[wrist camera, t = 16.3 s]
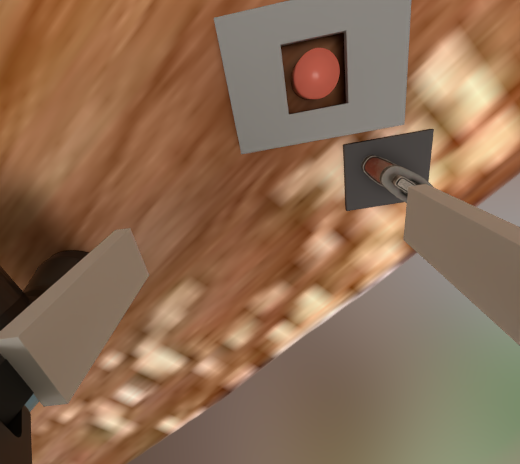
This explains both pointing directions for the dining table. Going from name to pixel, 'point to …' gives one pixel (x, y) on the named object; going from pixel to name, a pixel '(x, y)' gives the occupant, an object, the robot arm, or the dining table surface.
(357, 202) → the mat
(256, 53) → the button panel
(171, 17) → the dining table surface
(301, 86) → the red dome button
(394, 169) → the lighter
